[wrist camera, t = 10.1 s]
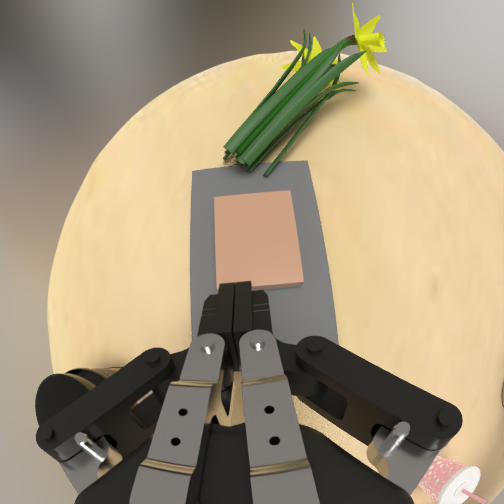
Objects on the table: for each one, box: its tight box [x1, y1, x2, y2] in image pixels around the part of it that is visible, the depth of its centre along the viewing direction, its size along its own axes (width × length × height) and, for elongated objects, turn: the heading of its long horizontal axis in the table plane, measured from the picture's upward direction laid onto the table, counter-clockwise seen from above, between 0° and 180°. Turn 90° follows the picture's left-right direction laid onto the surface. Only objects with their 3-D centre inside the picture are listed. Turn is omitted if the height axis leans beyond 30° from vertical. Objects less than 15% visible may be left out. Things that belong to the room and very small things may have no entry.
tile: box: [214, 190, 304, 291], centre depth 31 cm, size 2×9×11 cm
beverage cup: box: [418, 455, 487, 504], centre depth 14 cm, size 6×6×14 cm
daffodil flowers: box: [223, 2, 387, 176], centre depth 33 cm, size 17×15×35 cm
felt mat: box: [190, 161, 339, 370], centre depth 32 cm, size 26×16×1 cm, turn 4°
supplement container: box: [35, 367, 153, 459], centre depth 21 cm, size 10×10×12 cm
